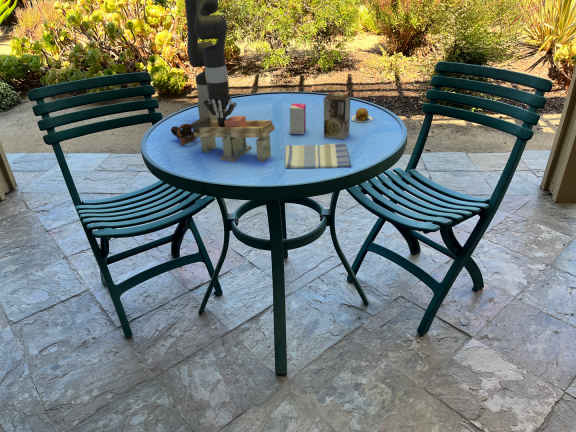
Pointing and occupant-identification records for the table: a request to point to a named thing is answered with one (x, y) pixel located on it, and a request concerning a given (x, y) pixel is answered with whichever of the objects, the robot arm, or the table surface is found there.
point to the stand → (237, 147)
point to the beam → (232, 129)
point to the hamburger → (362, 115)
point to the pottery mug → (184, 133)
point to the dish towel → (317, 156)
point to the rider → (236, 121)
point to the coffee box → (336, 116)
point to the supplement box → (297, 119)
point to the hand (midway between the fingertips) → (222, 126)
